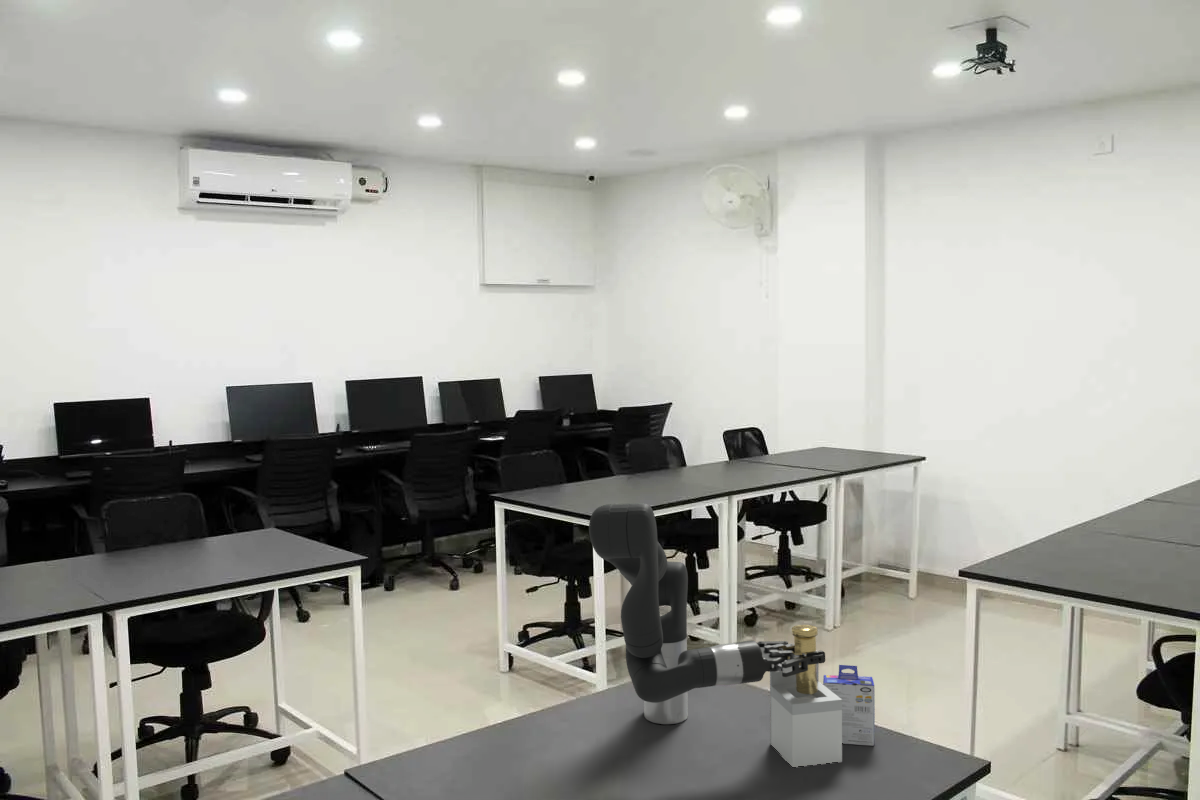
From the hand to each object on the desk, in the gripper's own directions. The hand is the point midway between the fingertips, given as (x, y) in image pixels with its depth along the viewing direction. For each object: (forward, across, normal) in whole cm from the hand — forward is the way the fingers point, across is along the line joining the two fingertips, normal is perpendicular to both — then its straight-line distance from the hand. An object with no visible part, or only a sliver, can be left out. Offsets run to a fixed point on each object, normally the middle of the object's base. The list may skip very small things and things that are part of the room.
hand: (818, 652), depth 178 cm
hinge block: (-3, 0, +20) cm, 20 cm away
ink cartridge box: (+8, +4, +20) cm, 22 cm away
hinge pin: (-3, 0, +7) cm, 8 cm away
